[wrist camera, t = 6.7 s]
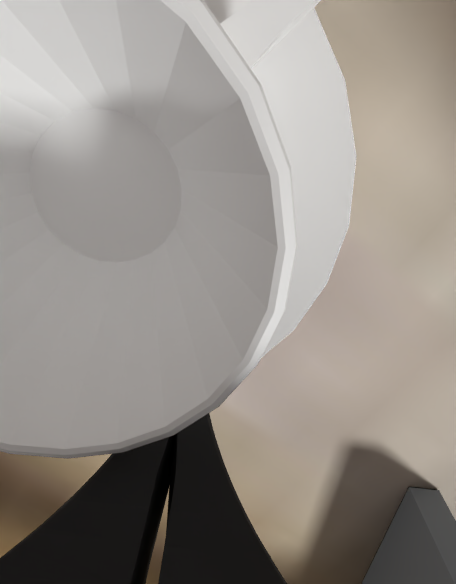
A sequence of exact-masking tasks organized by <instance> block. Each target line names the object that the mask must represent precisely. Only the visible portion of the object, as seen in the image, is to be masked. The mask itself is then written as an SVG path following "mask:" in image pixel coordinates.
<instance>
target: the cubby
mask: <svg viewBox="0 0 456 584" xmlns="http://www.w3.org/2000/svg"><path fill="white" fill-rule="evenodd" d="M362 584H456V521H455V519H454V517H453V515H452V513H451V512H450V510H449V508H448V506H447V504H446V502H445V501H444V499H443V497H442V495H441V493H440V491H439V490H430V489H421V488H412V487H409V488H408V490H407V492H406V494H405V496H404V498H403V500H402V502H401V504H400V506H399V508H398V510H397V513H396V515H395V517H394V519H393V521H392V523H391V525H390V527H389V529H388V531H387V533H386V535H385V537H384V539H383V541H382V543H381V545H380V547H379V549H378V551H377V553H376V555H375V557H374V559H373V562H372V564H371V566H370V568H369V570H368V572H367V574H366V576H365V578H364V580H363V582H362Z"/></svg>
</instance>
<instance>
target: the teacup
mask: <svg viewBox="0 0 456 584" xmlns="http://www.w3.org/2000/svg"><path fill="white" fill-rule="evenodd" d="M320 1H321V0H0V451H2V452H6V453H9V454H20V455H32V456H44V457H56V458H77V457H86V456H95V455H104V454H112V453H121V452H125V451H128V450H131V449H134V448H137V447H140V446H143V445H146V444H149V443H152V442H155V441H158V440H161V439H164V438H167V437H170V436H173V435H175V434H176V433H178V432H179V431H181V430H183V429H184V428H186V427H187V426H189V425H191V424H192V423H194V422H195V421H197V420H198V419H200V418H202V417H203V416H205V415H206V414H208V413H209V412H211V411H213V410H214V409H216V408H217V407H219V406H220V405H221V404H222V403H223V402H224V401H225V399H226V398H227V397H228V396H229V395H230V394H231V393H232V392H233V391H234V390H235V389H236V388H237V386H238V385H239V384H240V383H241V382H242V381H243V380H244V379H245V378H246V377H247V376H248V374H249V373H250V372H251V371H252V370H253V369H254V368H255V367H256V366H257V364H258V363H259V361H260V359H261V357H263V356H264V355H265V354H266V353H267V352H269V351H270V350H271V349H272V348H273V347H275V346H276V345H277V344H278V343H279V342H280V341H282V340H283V339H284V338H285V337H286V336H288V335H289V334H290V333H291V332H292V331H293V330H294V329H295V328H296V326H297V325H298V324H299V322H300V321H301V319H302V318H303V317H304V315H305V314H306V312H307V311H308V310H309V308H310V307H311V305H312V304H313V303H314V301H315V300H316V298H317V297H318V296H319V294H320V293H321V291H322V290H323V289H324V287H325V286H326V284H327V282H328V279H329V277H330V274H331V272H332V269H333V266H334V264H335V261H336V258H337V256H338V253H339V251H340V248H341V245H342V243H343V240H344V237H345V235H346V232H347V230H348V227H349V221H350V212H351V203H352V193H353V184H354V175H355V166H356V150H355V143H354V136H353V130H352V123H351V116H350V110H349V103H348V96H347V89H346V83H345V78H344V76H343V74H342V71H341V69H340V67H339V64H338V62H337V60H336V57H335V55H334V53H333V50H332V48H331V46H330V43H329V41H328V39H327V36H326V34H325V32H324V29H323V27H322V25H321V22H320V20H319V18H318V15H317V13H316V11H315V8H314V7H315V6H316V5H317V4H318V3H319V2H320Z"/></svg>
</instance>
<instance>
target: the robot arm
mask: <svg viewBox="0 0 456 584" xmlns="http://www.w3.org/2000/svg"><path fill="white" fill-rule="evenodd" d="M169 485H170V486H169ZM168 489H169V501H168V515H167V530H166V540H165V546H164V552H163V559H162V565H161V571H160V577H159V583H158V584H287V583H286V581H285V580H284V578H283V577H282V575H281V574H280V572H279V571H278V569H277V567H276V566H275V564H274V562H273V561H272V559H271V557H270V556H269V554H268V552H267V551H266V549H265V547H264V546H263V544H262V542H261V541H260V539H259V537H258V535H257V534H256V532H255V530H254V528H253V526H252V524H251V522H250V520H249V518H248V516H247V515H246V513H245V510H244V508H243V506H242V504H241V502H240V500H239V498H238V496H237V494H236V491H235V489H234V487H233V485H232V482H231V480H230V477H229V475H228V472H227V470H226V467H225V465H224V462H223V459H222V456H221V453H220V450H219V447H218V444H217V441H216V438H215V435H214V431H213V427H212V423H211V419H210V415H209V413H208V414H206V415H205V416H203V417H202V418H200V419H198V420H197V421H195V422H194V423H192V424H191V425H189V426H187V427H186V428H184V429H183V430H181V431H179V432H178V433H176V434H175V435H173V436H170V437H167V438H164V439H161V440H158V441H155V442H152V443H149V444H146V445H143V446H140V447H137V448H134V449H131V450H128V451H125V452H121V453H112V455H111V456H110V457H109V458H108V459H107V460H106V462H105V463H104V464H103V465H102V466H101V467H100V468H99V469H98V471H97V472H96V473H95V474H94V475H93V476H92V477H91V478H90V479H89V480H88V481H87V482H86V483H85V484H84V485H83V486H82V487H81V488H80V489H79V490H78V491H77V492H76V493H75V494H74V495H73V496H72V497H71V498H70V499H69V500H68V501H67V502H66V503H65V504H64V505H63V506H61V507H60V508H59V509H58V510H57V511H56V512H55V513H54V514H53V515H52V516H51V517H50V518H48V519H47V520H46V521H45V522H44V523H43V524H42V525H40V526H39V527H38V528H37V529H36V530H35V531H33V532H32V533H31V534H30V535H28V536H27V537H26V538H25V539H23V540H22V541H21V542H20V543H18V544H17V545H16V546H15V547H14V548H12V549H11V550H10V551H9V552H7V553H6V554H5V555H4V556H2V557H1V558H0V584H145V583H146V578H147V573H148V569H149V564H150V560H151V556H152V552H153V548H154V544H155V540H156V536H157V532H158V528H159V524H160V521H161V517H162V513H163V509H164V505H165V501H166V497H167V493H168Z"/></svg>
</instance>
